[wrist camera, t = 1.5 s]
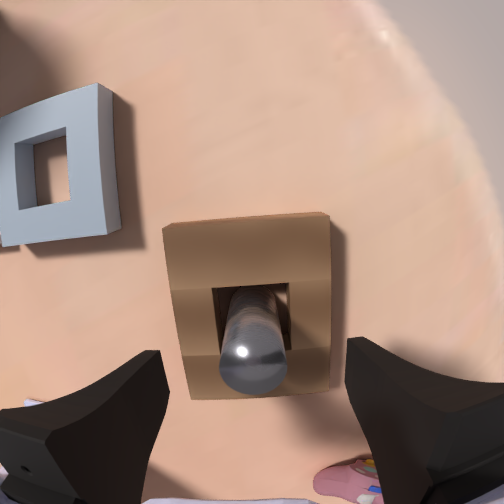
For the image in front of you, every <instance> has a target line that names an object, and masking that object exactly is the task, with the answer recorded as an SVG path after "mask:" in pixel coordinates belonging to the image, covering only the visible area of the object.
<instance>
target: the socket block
mask: <svg viewBox="0 0 504 504" xmlns="http://www.w3.org/2000/svg"><path fill="white" fill-rule="evenodd" d="M65 135H66V140H67V162H68V177H69V189H70V199H71V200H70V201H64V202H59V203H53V204H48V205H43V206H38V207H37V197H36V186H35V172H34V152H33V145H35V144H38V143H41V142H44V141H48V140H51V139H55V138H58V137H62V136H65ZM121 228H122V226H121V218H120V210H119V200H118V190H117V179H116V167H115V152H114V133H113V91H111V90H109V89H108V88H106V87H104V86H103V85H101V84H99V83H95V84H91V85H88V86H84V87H81V88H78V89H75V90H71V91H68V92H65V93H62V94H59V95H56V96H53V97H51V98H48V99H45V100H42V101H40V102H37V103H34V104H32V105H29V106H27V107H24V108H22V109H19V110H17V111H14V112H12V113H10V114H7V115H5V116H3V117H1V118H0V234H1V240H2V246H3V247H7V246H14V245H22V244H29V243H37V242H45V241H53V240H62V239H70V238H79V237H87V236H96V235H106V234H109V233H112V232H114V231H117V230H119V229H121Z"/></svg>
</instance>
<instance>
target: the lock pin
mask: <svg viewBox="0 0 504 504" xmlns="http://www.w3.org/2000/svg"><path fill="white" fill-rule="evenodd" d="M219 371H220V375H221V377H222V379H223V381H224V382H225V383H226V384H227V385H228V386H229V387H230V388H232V389H233V390H235V391H237V392H240V393H243V394H248V395H258V394H263V393H267V392H269V391H271V390H273V389H275V388H276V387H277V386H278V385H279V384H280V383H281V382H282V381H283V379H284V378H285V376H286V373H287V361H286V355H285V349H284V344H283V338H282V333H281V327H280V322H279V316H278V311H277V305H276V300H275V297H274V295H273V294H272V292H271V291H270V290H269V289H267V288H266V287H264V286H262V285H247V286H242V287H240V288H239V289H238V290H236V291H235V293H234V294H233V296H232V298H231V301H230V306H229V311H228V317H227V323H226V328H225V334H224V339H223V345H222V351H221V356H220V362H219Z"/></svg>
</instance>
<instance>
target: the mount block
mask: <svg viewBox="0 0 504 504" xmlns="http://www.w3.org/2000/svg"><path fill="white" fill-rule="evenodd" d="M162 233H163V242H164V249H165V257H166V264H167V271H168V278H169V285H170V292H171V298H172V304H173V310H174V316H175V322H176V328H177V333H178V339H179V344H180V349H181V354H182V359H183V364H184V369H185V374H186V379H187V383H188V388H189V393H190V397H191V400H221V399H247V398H264V397H278V396H289V395H299V394H309V393H317V392H325V391H329V373H330V346H331V240H330V216H329V215H327V214H325V213H322V212H310V213H294V214H279V215H265V216H251V217H238V218H226V219H214V220H202V221H191V222H180V223H171V224H170V225H168V226H166V227H164V228H162ZM274 283H286V296H287V319H288V333H287V334H282V338H283V344H284V349H285V355H286V361H287V373H286V376H285V378H284V379H283V381H282V382H281V383H280V384H279V385H278V386H277V387H276V388H275V389H273V390H271V391H269V392H267V393H263V394H258V395H248V394H243V393H240V392H237V391H235V390H233V389H232V388H230V387H229V386H228V385H227V384H226V383H225V382H224V381H223V379H222V377H221V375H220V371H219V362H220V356H221V351H222V345H223V339H224V338H223V333H222V325H221V317H220V308H219V300H218V291H217V287H232V286H247V285H261V284H274Z"/></svg>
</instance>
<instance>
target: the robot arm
mask: <svg viewBox="0 0 504 504" xmlns="http://www.w3.org/2000/svg"><path fill="white" fill-rule="evenodd" d="M345 385H346V389H347V393H348V396H349V400H350V403H351V405H352V407H353V410H354V412H355V414H356V417H357V419H358V421H359V423H360V425H361V428H362V430H363V432H364V434H365V437H366V439H367V441H368V444H369V447H370V449H371V452H372V456H373V459H374V463H375V467H376V470H377V474H378V479H379V483H380V487H381V492H382V496H383V502H384V504H504V383H488V382H477V381H469V380H463V379H457V378H453V377H449V376H445V375H441V374H438V373H435V372H432V371H429V370H426V369H424V368H421V367H419V366H416V365H414V364H412V363H410V362H408V361H406V360H404V359H402V358H400V357H398V356H396V355H394V354H392V353H391V352H389V351H387V350H385V349H384V348H382V347H380V346H379V345H377V344H375V343H374V342H372V341H370V340H368V339H367V338H365V337H355V338H347V353H346V368H345ZM169 394H170V390H169V386H168V382H167V378H166V374H165V370H164V366H163V362H162V357H161V353H160V350H145V351H143V352H141V353H140V354H138V355H137V356H135V357H134V358H132V359H131V360H129V361H128V362H126V363H125V364H123V365H122V366H120V367H119V368H117V369H116V370H114V371H113V372H111V373H110V374H108V375H106V376H105V377H103V378H101V379H100V380H98V381H96V382H95V383H93V384H91V385H89V386H87V387H85V388H83V389H81V390H79V391H76V392H74V393H72V394H69V395H66V396H64V397H61V398H58V399H55V400H52V401H49V402H40V401H35V400H31V399H26V400H25V401H24V405H25V407H19V408H10V409H2V410H1V411H0V463H1V464H2V467H1V468H0V504H141V497H142V491H143V485H144V479H145V475H146V470H147V465H148V461H149V458H150V454H151V451H152V449H153V446H154V443H155V441H156V438H157V435H158V432H159V430H160V427H161V424H162V422H163V419H164V416H165V413H166V409H167V405H168V399H169ZM142 504H319V503H316V502H313V501H310V500H307V499H294V498H277V499H259V500H206V499H188V498H175V497H170V498H153V499H149V500H148V501H146V502H144V503H142Z"/></svg>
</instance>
